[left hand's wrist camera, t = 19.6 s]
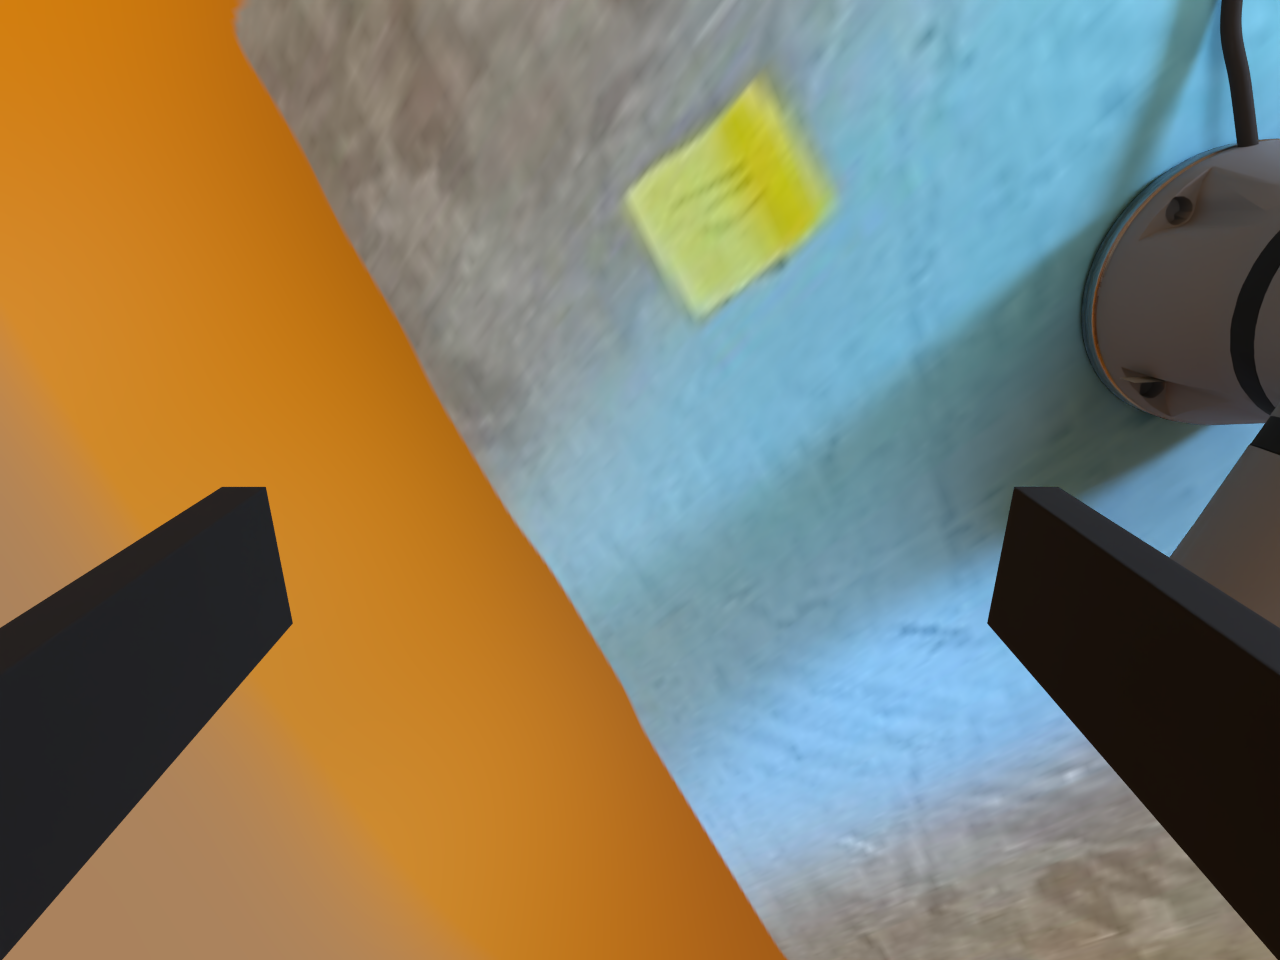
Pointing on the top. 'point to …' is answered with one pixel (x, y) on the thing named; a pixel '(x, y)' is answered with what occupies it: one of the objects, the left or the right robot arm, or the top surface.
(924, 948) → the top surface
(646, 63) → the top surface
